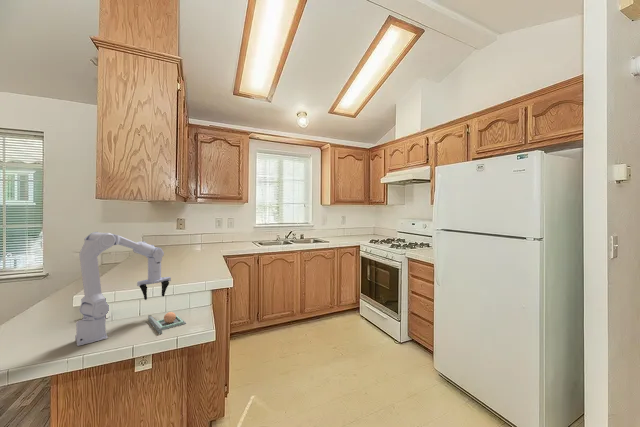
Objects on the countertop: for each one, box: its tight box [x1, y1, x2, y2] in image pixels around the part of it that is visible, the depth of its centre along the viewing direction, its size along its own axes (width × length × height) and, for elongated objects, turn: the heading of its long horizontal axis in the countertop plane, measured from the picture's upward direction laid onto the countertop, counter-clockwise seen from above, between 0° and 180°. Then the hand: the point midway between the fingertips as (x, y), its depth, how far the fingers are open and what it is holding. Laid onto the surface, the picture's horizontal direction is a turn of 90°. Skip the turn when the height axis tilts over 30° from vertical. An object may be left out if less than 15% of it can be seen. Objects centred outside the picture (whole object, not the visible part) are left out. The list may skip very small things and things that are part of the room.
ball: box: [163, 311, 177, 323], centre depth 127 cm, size 5×5×5 cm
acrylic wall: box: [147, 314, 163, 335], centre depth 123 cm, size 1×20×2 cm, turn 45°
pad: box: [156, 315, 187, 331], centre depth 127 cm, size 11×11×1 cm
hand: (154, 297), depth 135 cm, fingers open, 7 cm apart
